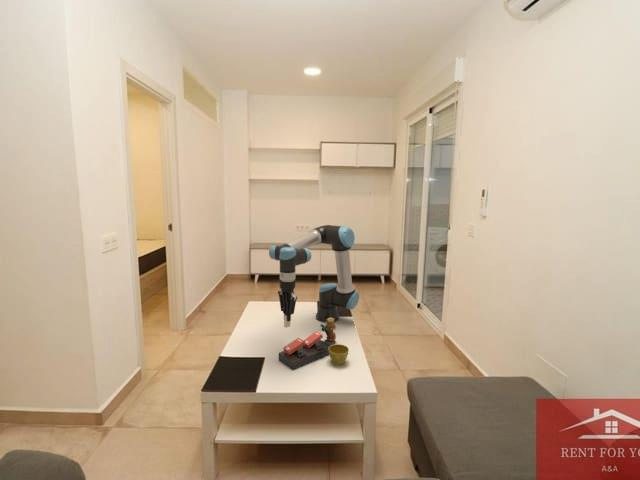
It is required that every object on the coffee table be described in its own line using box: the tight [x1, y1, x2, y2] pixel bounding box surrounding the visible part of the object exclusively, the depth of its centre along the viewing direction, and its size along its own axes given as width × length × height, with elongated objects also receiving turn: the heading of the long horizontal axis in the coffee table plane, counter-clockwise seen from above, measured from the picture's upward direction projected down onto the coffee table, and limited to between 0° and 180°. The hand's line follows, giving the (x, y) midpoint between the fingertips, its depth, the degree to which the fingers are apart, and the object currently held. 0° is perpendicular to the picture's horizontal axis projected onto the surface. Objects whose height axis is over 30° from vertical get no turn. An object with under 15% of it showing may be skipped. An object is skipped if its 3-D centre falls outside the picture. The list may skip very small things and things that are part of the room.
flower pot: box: [328, 343, 350, 366], centre depth 170 cm, size 10×10×7 cm
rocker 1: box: [282, 337, 305, 355], centre depth 172 cm, size 10×5×2 cm, turn 131°
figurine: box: [319, 318, 338, 345], centre depth 190 cm, size 9×8×15 cm
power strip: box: [278, 339, 331, 371], centre depth 174 cm, size 26×12×6 cm, turn 131°
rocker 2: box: [304, 330, 324, 348], centre depth 179 cm, size 10×5×2 cm, turn 131°
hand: (287, 326), depth 167 cm, fingers closed
